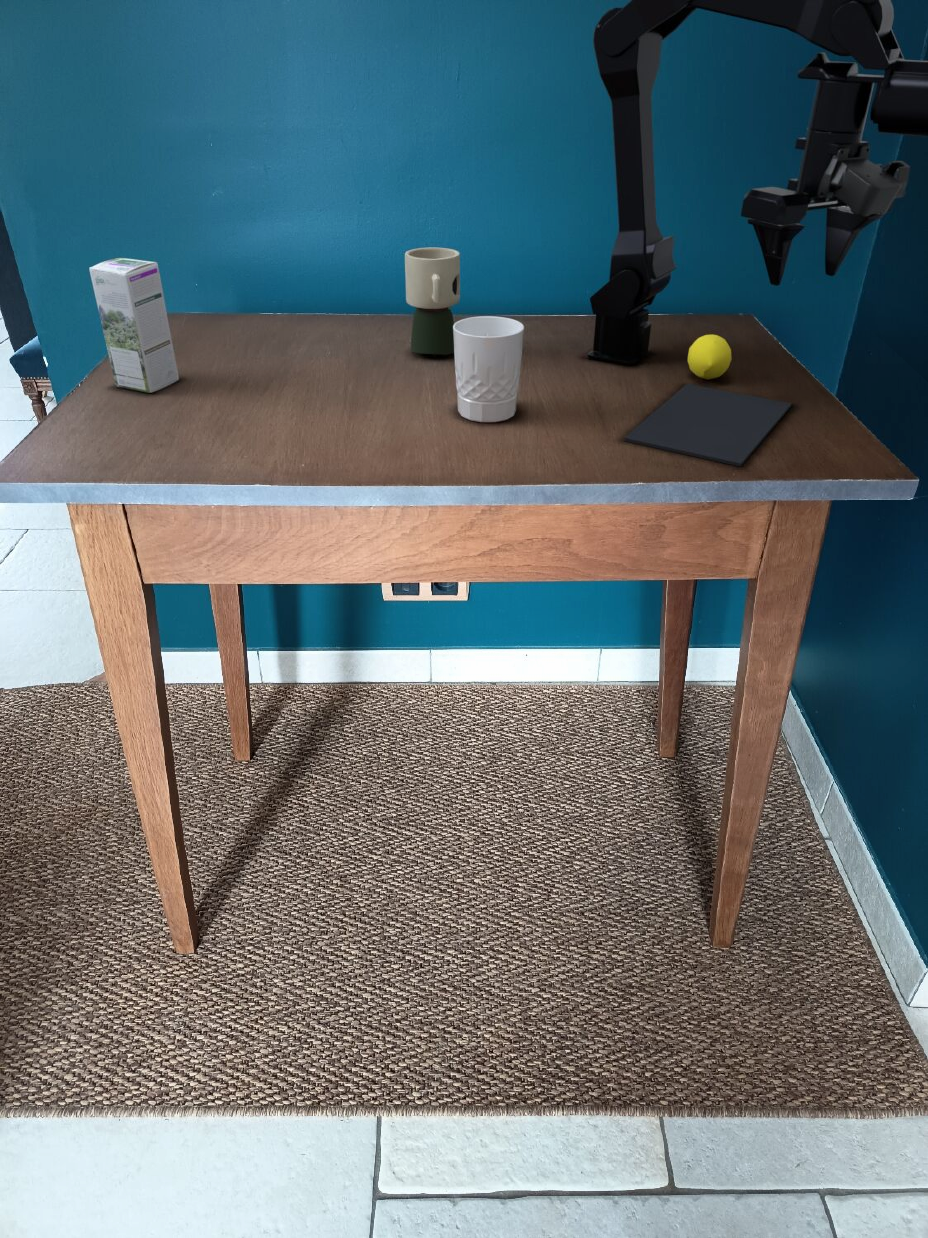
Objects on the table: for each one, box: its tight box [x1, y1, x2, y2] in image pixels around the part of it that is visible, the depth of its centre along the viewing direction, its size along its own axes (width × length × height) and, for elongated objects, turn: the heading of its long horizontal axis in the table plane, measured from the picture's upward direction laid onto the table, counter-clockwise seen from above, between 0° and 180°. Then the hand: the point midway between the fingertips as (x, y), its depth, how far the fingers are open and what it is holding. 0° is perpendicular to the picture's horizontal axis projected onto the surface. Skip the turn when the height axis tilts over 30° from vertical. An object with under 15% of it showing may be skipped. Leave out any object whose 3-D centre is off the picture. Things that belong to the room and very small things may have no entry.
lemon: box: [687, 334, 732, 380], centre depth 116 cm, size 7×5×5 cm
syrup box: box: [88, 257, 180, 394], centre depth 111 cm, size 6×6×14 cm
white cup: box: [453, 315, 525, 423], centre depth 105 cm, size 8×8×10 cm
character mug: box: [404, 246, 461, 357], centre depth 122 cm, size 11×7×13 cm, turn 8°
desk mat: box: [623, 383, 793, 467], centre depth 105 cm, size 13×20×1 cm, turn 149°
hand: (802, 279), depth 107 cm, fingers open, 9 cm apart
